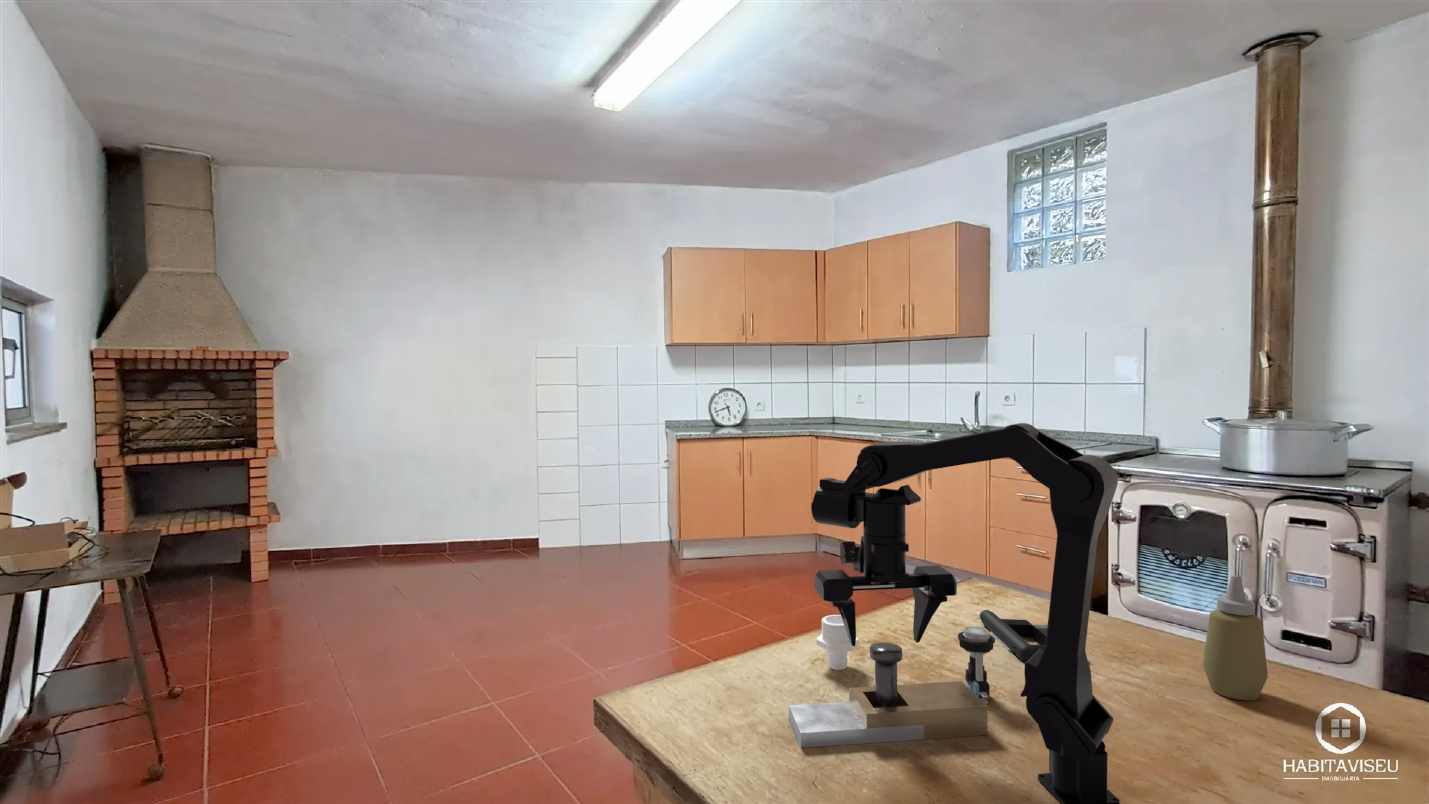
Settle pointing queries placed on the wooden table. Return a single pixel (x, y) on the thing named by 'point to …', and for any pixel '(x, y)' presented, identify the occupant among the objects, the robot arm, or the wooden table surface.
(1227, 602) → the squeeze bottle
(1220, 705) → the wooden table surface
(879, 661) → the metal knob
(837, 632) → the pipe fitting
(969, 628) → the push button
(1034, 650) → the black frame
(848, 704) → the tan and silver block
